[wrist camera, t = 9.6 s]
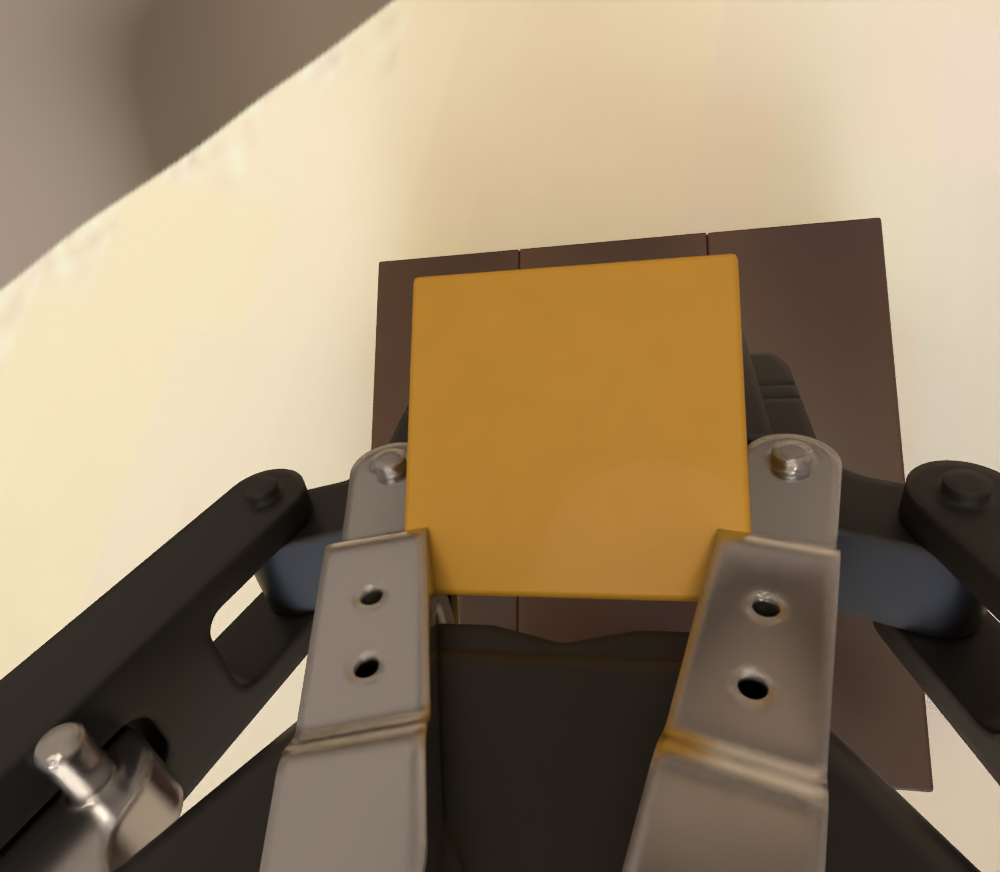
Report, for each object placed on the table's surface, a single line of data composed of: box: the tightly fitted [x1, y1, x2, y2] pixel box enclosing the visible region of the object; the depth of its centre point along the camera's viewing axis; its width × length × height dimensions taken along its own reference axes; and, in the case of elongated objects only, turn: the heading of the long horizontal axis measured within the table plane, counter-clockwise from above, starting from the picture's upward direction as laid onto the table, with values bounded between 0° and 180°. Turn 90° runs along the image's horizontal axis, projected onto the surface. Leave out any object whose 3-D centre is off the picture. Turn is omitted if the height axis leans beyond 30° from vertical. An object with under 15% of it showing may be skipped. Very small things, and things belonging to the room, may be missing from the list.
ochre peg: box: [404, 254, 751, 602], centre depth 13 cm, size 4×4×10 cm
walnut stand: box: [371, 218, 933, 792], centre depth 18 cm, size 13×13×4 cm
